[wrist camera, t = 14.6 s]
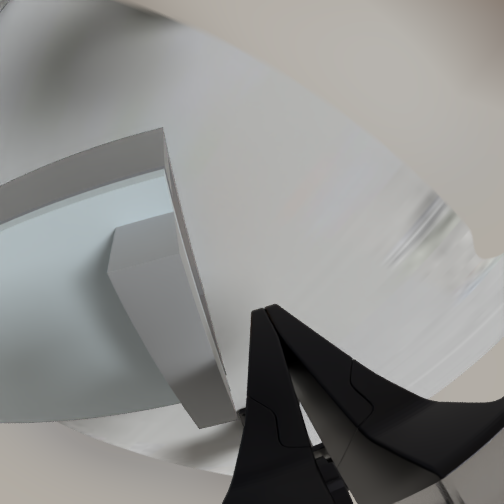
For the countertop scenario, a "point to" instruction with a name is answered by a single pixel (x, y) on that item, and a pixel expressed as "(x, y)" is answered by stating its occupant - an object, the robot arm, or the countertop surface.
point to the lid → (104, 311)
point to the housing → (99, 184)
